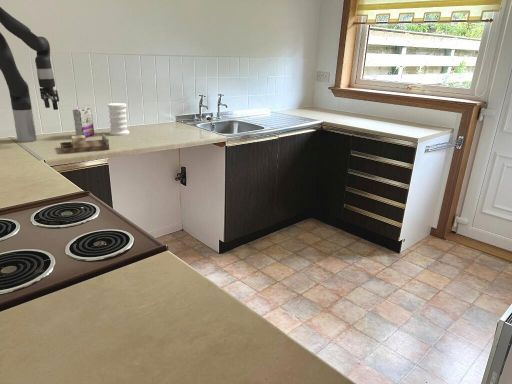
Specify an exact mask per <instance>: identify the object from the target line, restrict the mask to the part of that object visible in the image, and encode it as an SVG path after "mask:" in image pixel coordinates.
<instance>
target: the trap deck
mask: <svg viewBox="0 0 512 384" xmlns="http://www.w3.org/2000/svg"><path fill="white" fill-rule="evenodd" d="M59 144H60V148H61V151H62V154H75V153H86V152H87V153H88V152H98V151H99V152H100V151H110V143H109V138H108V137H107V136H106V135H105V134H104V133H102V134H101V139H92V140H86V145H81V146H74V145H73V144H72V141H65V142H60V143H59Z"/></svg>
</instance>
